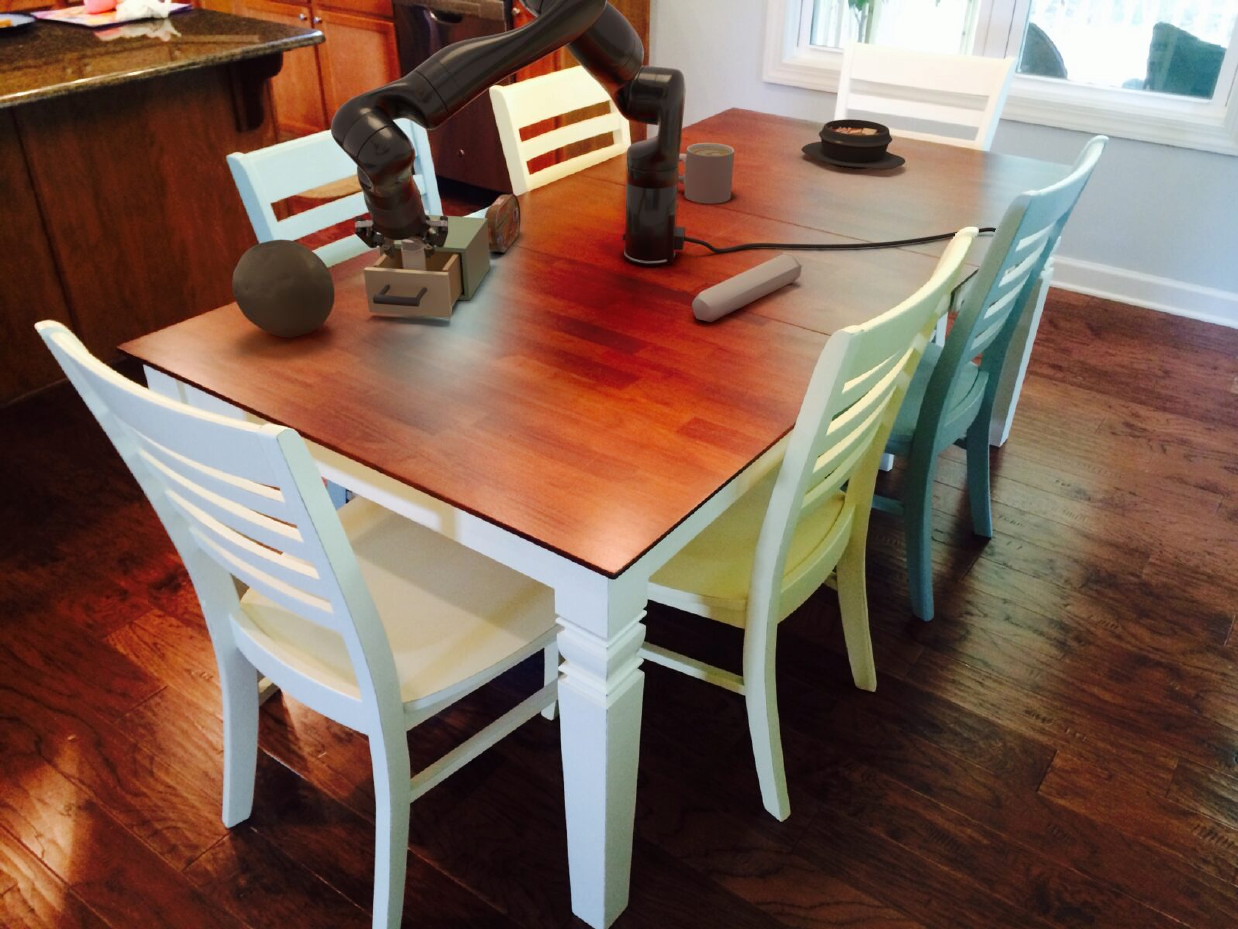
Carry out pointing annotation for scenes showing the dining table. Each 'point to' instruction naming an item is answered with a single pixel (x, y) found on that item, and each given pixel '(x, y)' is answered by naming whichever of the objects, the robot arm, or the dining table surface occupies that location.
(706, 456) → the dining table surface
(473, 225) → the cabinet
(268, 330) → the dark brown ball
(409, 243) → the salt shaker
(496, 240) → the tin
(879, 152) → the casserole
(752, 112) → the dining table surface
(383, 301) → the drawer
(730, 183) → the coffee mug
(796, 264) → the tube
